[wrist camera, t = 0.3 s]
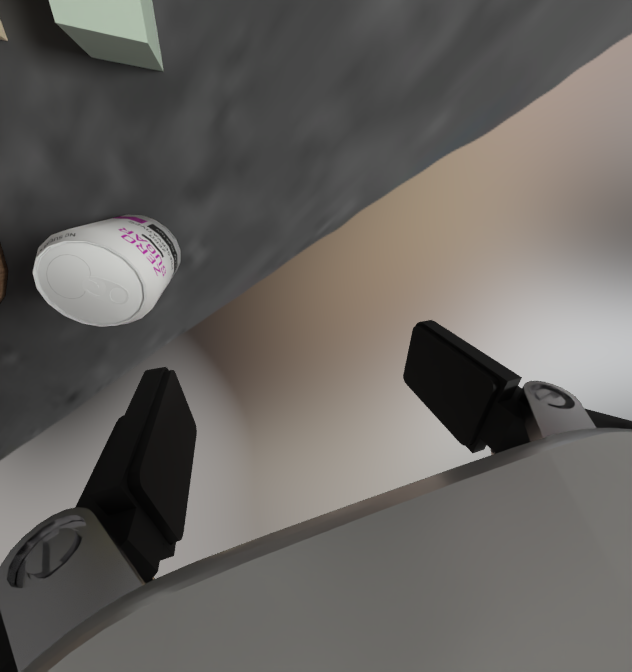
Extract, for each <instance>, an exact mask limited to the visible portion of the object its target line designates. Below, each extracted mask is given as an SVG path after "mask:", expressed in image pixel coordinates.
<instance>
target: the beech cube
mask: <svg viewBox="0 0 632 672" xmlns="http://www.w3.org/2000/svg"><path fill="white" fill-rule="evenodd" d="M0 40H5V41H8V40H7V37H6V34H5V31H4V29H3V26H2V23H1V21H0Z"/></svg>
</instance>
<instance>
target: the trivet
mask: <svg viewBox="0 0 632 672" xmlns="http://www.w3.org/2000/svg"><path fill="white" fill-rule="evenodd" d="M7 277H8V268H7V265H6V261H5V257H4V254H3V250H2V247H1V243H0V303H1V302H2V300H3V298H4V297H5V295H6V287H7Z"/></svg>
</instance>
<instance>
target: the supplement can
mask: <svg viewBox="0 0 632 672" xmlns="http://www.w3.org/2000/svg"><path fill="white" fill-rule="evenodd" d="M180 262H181V253H180V248H179V246H178V243H177V240H176V239H175V237H174V236H173V235H172V234H171V232H170V231H169V230H168V229H167V228H166V227H165V226H163V225H162V224H160V223H159V222H158V221H156V220H154V219H151V218H149V217H146V216H143V215H128V214H127V215H123V216H119V217H115V218H111V219H107V220H103V221H99V222H95V223H91V224H87V225H83V226H79V227H75V228H71V229H68V230H65V231H62V232H59V233H56V234H53V235H51V236H50V237H49V238H48V239H47V240H46V241H45V242H44V243H43V244H42V245H41V246H40V247H39V248H38V251H37V255H36V259H35V264H34V269H33V276H34V280H35V284H36V287H37V290H38V291H39V292H40V294H41V295H42V296H43V298H44V299H45V300H46V302H47V303H48V304H49V305H50V306H52V307H53V308H54V309H56V310H57V311H58V312H60V313H61V314H62V315H64V316H66V317H68V318H71V319H73V320H75V321H78V322H80V323H83V324H89V325H94V326H100V327H101V326H116V325H119V324H128V323H130V322H133V321H135V320H138V319H141V318H142V317H144V316H145V315H146V314H147V313H148V312H149V311H150V310H151V309H152V308H153V307H154V305H155V304H156V302H157V301H158V299H159V298H160V296H161V295H162V293H163V291H164V290H165V288H166V287H167V285H168V284H169V282H170V281H171V279H172V277H173V276H174V274H175V273H176V271H177V269H178V267H179V264H180Z"/></svg>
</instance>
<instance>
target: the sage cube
mask: <svg viewBox="0 0 632 672" xmlns="http://www.w3.org/2000/svg"><path fill="white" fill-rule="evenodd" d="M49 3H50V6H51V10H52V13H53V17H54V20H55V23H56V24H57V25H58V26H59V27H60V28H61V29H62V30H63V31H65V32H66V33H67V34H68V35H69V36H70V37H71V38H72V39H73V40H74V41H75V42H76V43H77V44H78V45H79V46H80V47H81V48H82V49H83V50H84V51H85V52H86V53H87V54H88V55H90V56H91V57H92V58H97V59H102V60H107V61H112V62H117V63H122V64H128V65H133V66H138V67H143V68H148V69H153V70H158V71H163V65H162V59H161V52H160V46H159V40H158V34H157V28H156V22H155V16H154V10H153V4H152V0H49ZM163 72H164V71H163Z"/></svg>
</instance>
